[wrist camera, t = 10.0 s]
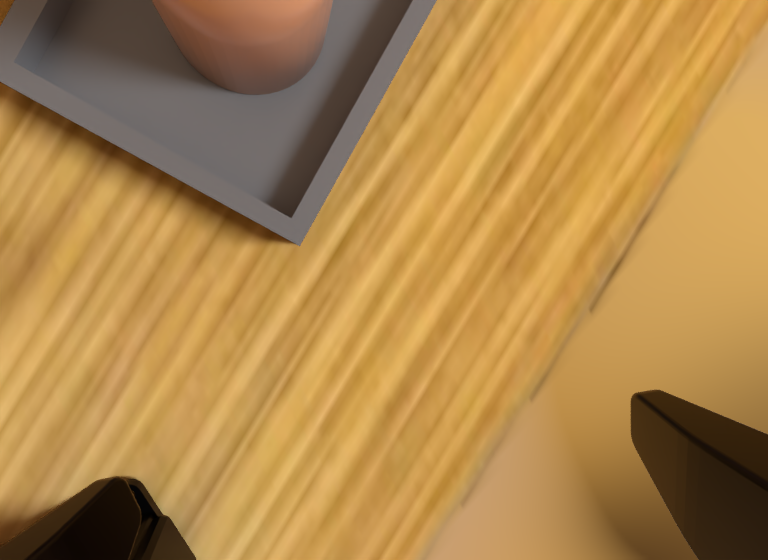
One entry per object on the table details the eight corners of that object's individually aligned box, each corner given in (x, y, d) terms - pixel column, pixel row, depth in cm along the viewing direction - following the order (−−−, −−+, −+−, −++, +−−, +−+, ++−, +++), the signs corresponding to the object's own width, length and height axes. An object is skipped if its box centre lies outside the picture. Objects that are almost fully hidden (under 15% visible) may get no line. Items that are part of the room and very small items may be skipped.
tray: (298, 244, 19) (299, 246, 18) (9, 85, 17) (-24, 68, 15) (455, -39, 19) (472, -64, 18) (192, -247, 17) (181, -302, 15)
